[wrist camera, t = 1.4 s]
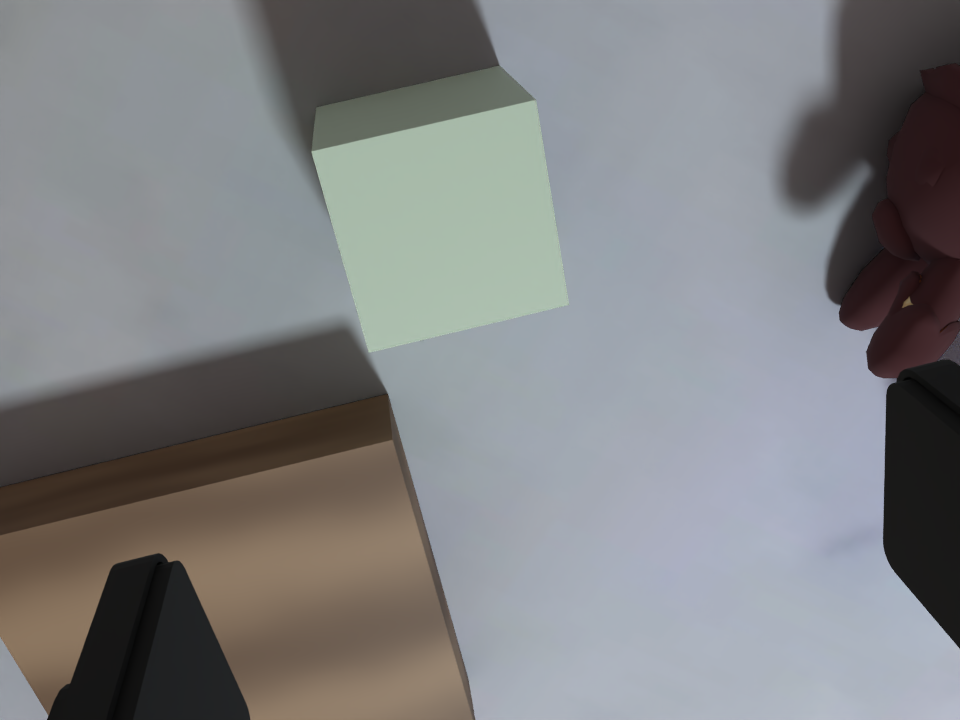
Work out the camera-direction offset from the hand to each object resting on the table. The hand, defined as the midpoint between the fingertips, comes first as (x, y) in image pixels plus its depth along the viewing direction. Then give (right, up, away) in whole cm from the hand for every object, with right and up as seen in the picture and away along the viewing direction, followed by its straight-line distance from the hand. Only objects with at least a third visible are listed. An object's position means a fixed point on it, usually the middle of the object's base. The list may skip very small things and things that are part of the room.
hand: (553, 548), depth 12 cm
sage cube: (-3, +8, +16) cm, 18 cm away
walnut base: (-10, -6, +22) cm, 25 cm away
